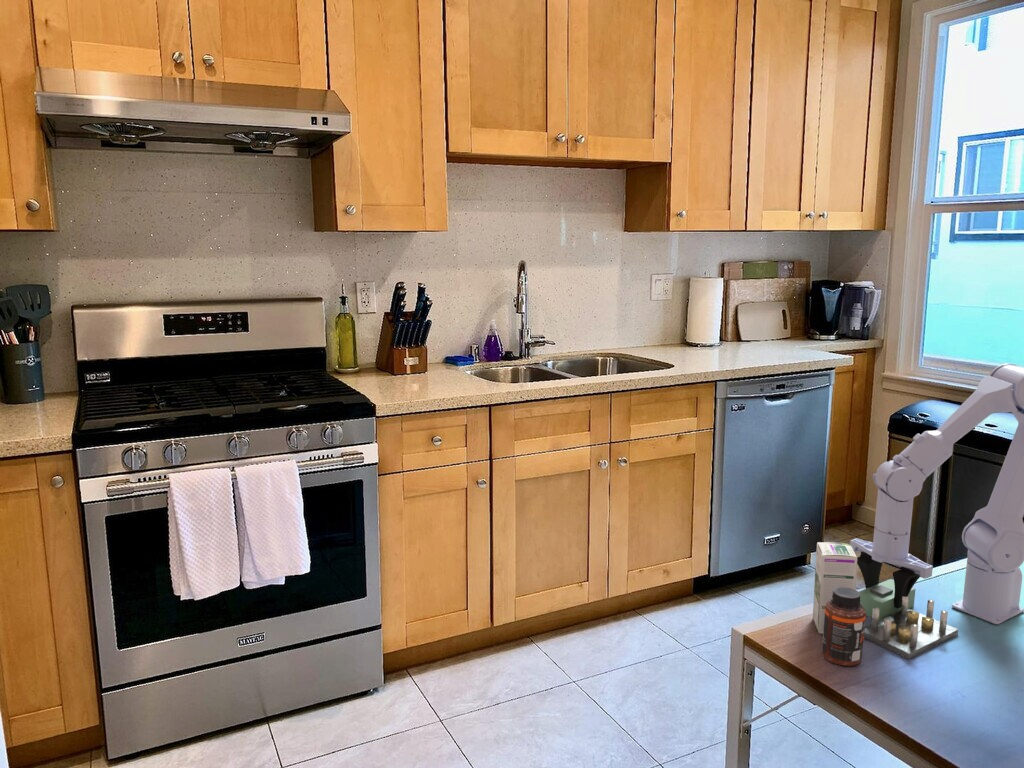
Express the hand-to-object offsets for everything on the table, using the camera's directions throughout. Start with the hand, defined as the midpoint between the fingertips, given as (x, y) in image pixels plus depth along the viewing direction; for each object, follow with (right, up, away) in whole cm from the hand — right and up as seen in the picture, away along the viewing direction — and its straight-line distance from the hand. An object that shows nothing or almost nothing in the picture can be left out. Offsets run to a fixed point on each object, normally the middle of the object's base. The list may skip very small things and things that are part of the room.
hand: (885, 600), depth 139 cm
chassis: (-1, -3, -9) cm, 9 cm away
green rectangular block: (0, -2, 0) cm, 2 cm away
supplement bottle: (-15, -5, -16) cm, 22 cm away
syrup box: (-12, -3, -6) cm, 14 cm away
